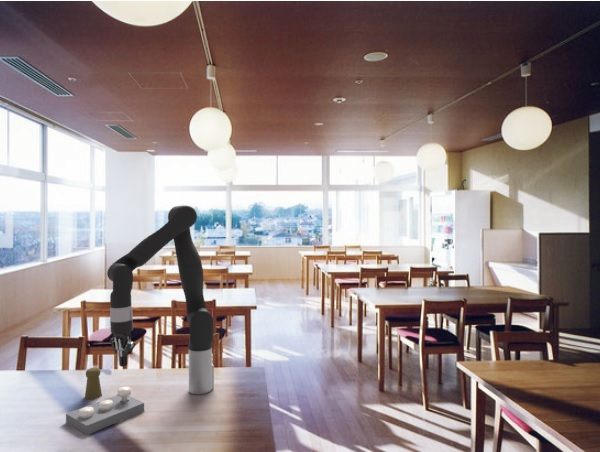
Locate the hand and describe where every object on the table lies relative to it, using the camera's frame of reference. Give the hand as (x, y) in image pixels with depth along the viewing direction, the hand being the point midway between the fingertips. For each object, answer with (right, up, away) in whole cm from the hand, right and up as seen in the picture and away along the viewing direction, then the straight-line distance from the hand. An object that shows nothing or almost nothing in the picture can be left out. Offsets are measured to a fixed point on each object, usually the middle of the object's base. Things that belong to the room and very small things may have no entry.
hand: (123, 365), depth 156 cm
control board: (-4, -17, -4) cm, 18 cm away
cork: (-17, -16, +12) cm, 26 cm away
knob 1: (-8, -17, -10) cm, 21 cm away
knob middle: (-4, -16, -4) cm, 17 cm away
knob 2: (0, -14, +1) cm, 14 cm away
